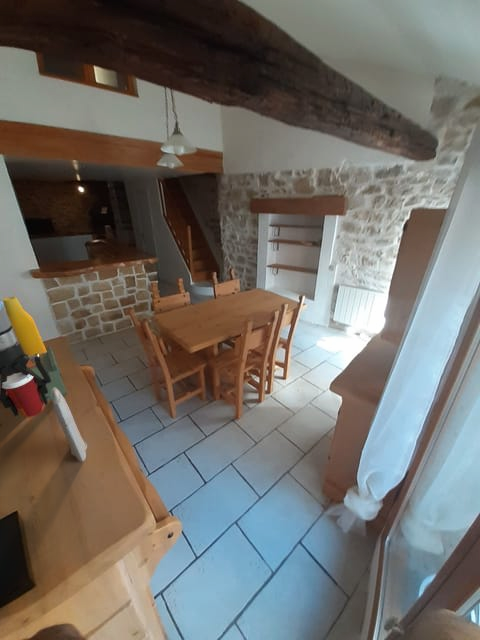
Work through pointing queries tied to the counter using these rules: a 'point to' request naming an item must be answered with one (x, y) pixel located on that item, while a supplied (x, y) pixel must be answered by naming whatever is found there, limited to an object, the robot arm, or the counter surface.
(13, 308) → the yellow bottle
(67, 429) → the tall pale column
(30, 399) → the paper cup
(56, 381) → the sage green crate
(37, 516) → the counter surface
